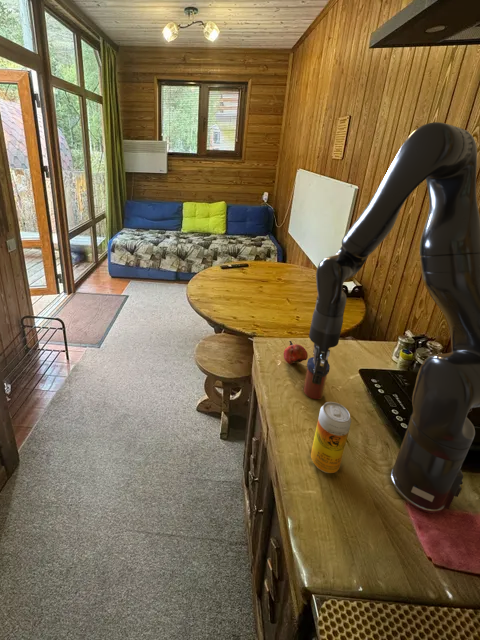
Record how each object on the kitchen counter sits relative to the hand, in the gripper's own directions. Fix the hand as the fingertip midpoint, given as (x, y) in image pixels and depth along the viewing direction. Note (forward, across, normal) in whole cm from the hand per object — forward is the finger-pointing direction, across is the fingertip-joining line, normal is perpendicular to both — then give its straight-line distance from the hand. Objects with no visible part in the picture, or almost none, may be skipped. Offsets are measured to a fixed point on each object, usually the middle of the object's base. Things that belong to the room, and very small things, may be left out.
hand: (316, 375), depth 88 cm
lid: (-4, 0, 0) cm, 4 cm away
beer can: (+6, -22, -2) cm, 23 cm away
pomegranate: (+6, +11, +6) cm, 14 cm away
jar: (+6, 0, 0) cm, 6 cm away
